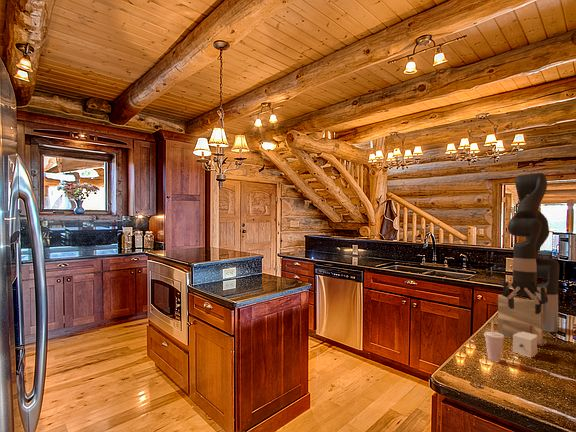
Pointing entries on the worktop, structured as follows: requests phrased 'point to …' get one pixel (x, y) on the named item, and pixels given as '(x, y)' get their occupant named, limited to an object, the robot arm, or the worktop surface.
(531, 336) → the wall box
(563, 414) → the worktop surface
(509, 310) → the cleat board
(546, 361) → the worktop surface
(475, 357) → the worktop surface
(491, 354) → the smoothie
